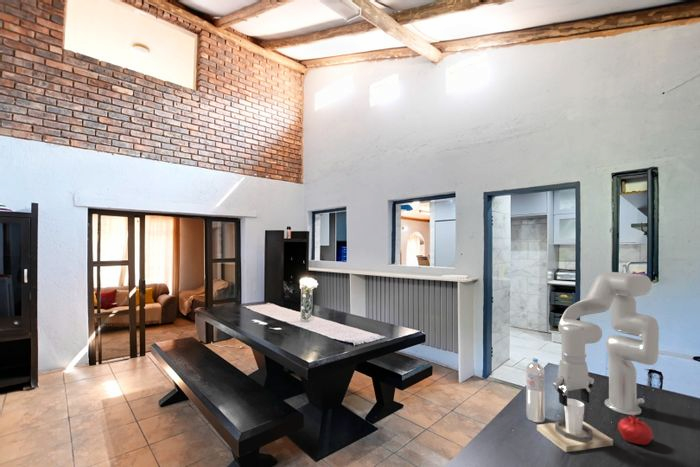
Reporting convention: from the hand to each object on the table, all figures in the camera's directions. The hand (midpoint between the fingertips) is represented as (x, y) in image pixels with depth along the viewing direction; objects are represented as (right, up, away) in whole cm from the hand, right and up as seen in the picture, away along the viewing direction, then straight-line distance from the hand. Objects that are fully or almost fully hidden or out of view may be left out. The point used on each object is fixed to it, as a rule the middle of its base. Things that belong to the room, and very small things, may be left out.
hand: (574, 402), depth 130 cm
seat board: (0, -13, 0) cm, 13 cm away
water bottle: (-8, -13, +12) cm, 20 cm away
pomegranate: (+21, -13, -2) cm, 25 cm away
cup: (0, -11, 0) cm, 11 cm away
